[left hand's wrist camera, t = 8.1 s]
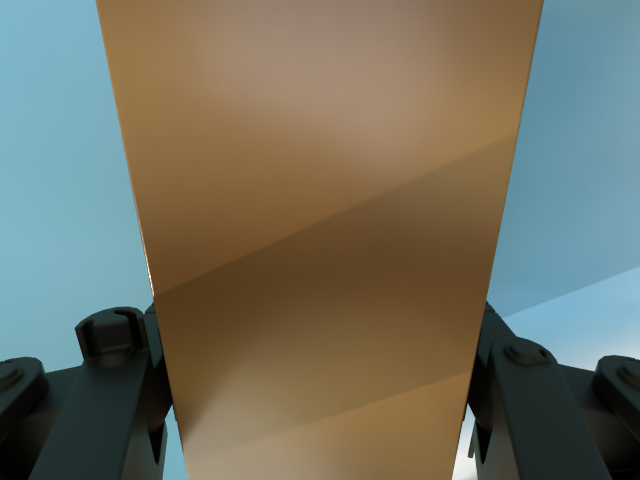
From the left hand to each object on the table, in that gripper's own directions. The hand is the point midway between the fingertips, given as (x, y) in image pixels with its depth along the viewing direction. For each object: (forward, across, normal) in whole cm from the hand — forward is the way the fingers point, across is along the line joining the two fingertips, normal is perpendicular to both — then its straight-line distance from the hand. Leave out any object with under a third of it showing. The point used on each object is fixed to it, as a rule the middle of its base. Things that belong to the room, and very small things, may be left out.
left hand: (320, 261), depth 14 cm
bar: (+1, 0, -25) cm, 25 cm away
